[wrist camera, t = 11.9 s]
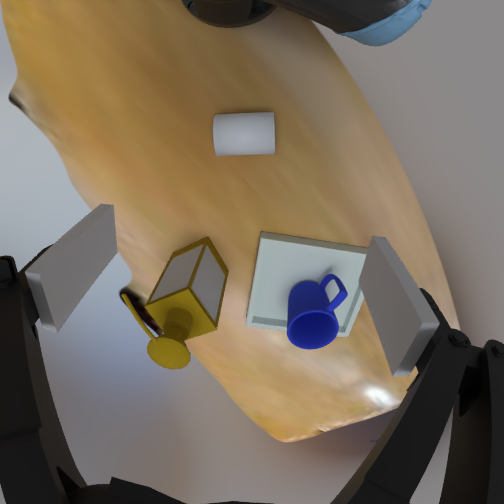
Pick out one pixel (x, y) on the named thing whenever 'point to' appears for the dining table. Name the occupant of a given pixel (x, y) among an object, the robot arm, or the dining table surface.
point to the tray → (302, 278)
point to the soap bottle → (185, 302)
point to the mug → (313, 313)
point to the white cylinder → (244, 134)
